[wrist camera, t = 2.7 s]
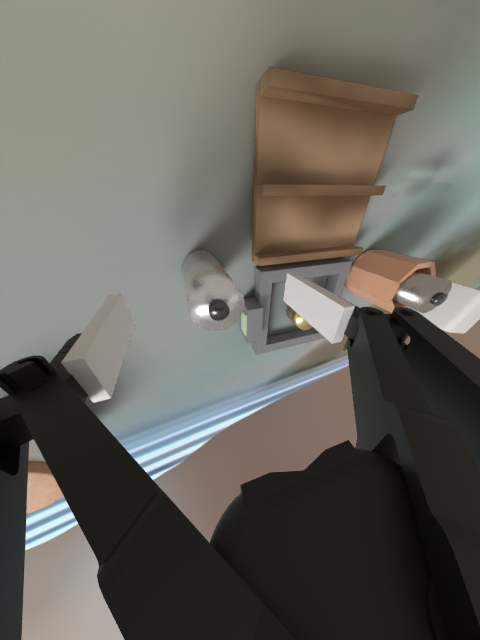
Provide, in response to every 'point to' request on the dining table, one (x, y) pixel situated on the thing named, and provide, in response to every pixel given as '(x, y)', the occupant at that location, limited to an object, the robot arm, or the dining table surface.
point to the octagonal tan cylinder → (383, 275)
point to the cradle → (259, 305)
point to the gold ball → (297, 319)
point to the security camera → (456, 310)
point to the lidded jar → (40, 481)
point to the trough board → (316, 163)
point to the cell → (210, 292)
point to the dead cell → (422, 292)
